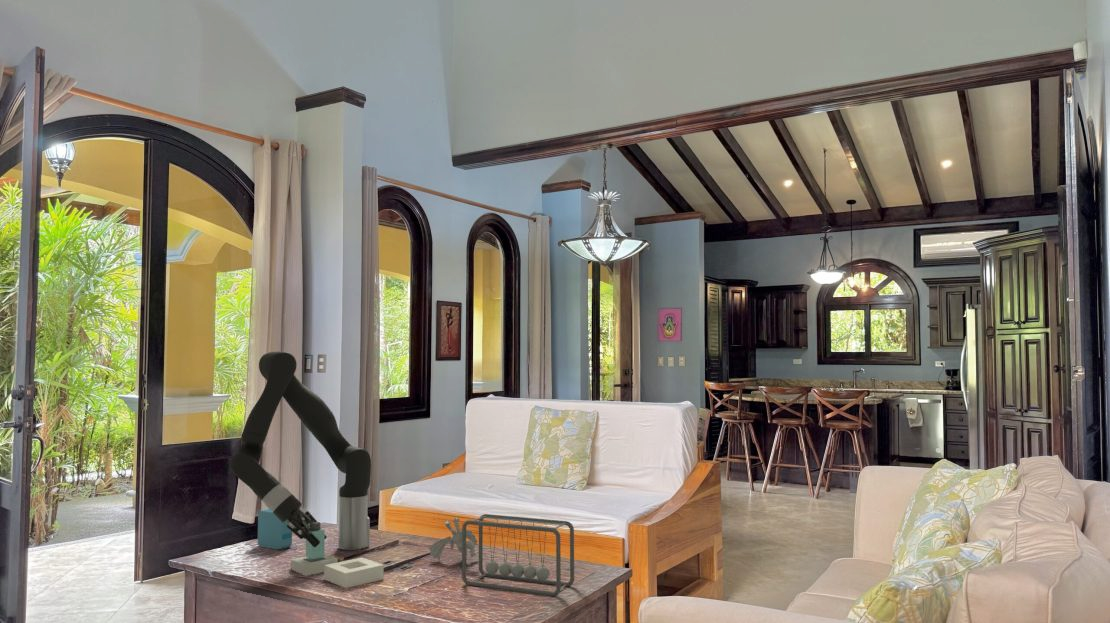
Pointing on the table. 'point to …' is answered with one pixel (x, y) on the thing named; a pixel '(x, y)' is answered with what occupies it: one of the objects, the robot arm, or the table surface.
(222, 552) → the table surface
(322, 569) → the holster
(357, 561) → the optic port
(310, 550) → the plug
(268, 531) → the data package
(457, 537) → the fairy figurine
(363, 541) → the robot arm
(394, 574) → the table surface
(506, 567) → the newton's cradle
